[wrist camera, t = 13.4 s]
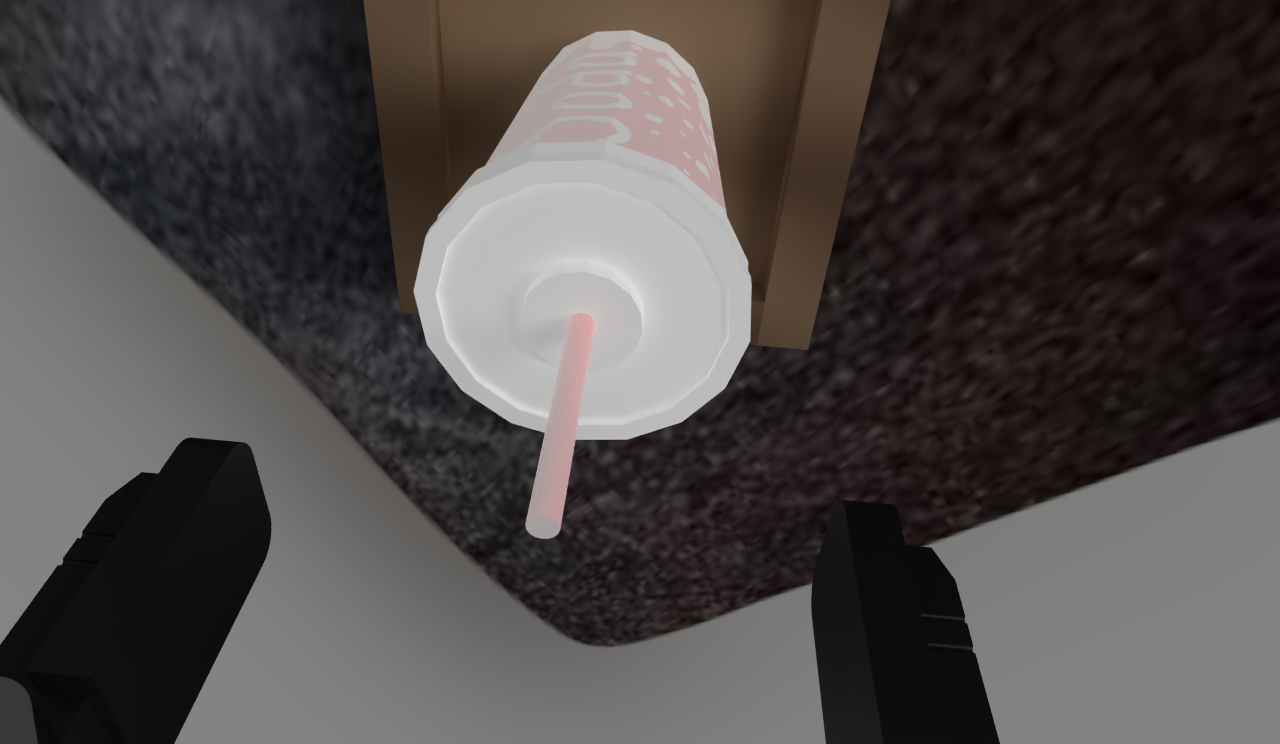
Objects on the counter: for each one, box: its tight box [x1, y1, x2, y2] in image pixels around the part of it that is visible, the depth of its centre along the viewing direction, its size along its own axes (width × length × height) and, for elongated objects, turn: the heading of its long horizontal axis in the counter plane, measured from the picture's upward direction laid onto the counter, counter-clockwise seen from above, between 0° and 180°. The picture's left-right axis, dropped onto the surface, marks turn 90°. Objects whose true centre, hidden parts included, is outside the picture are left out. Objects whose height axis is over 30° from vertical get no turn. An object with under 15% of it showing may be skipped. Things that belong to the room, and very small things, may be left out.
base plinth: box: [364, 0, 890, 350], centre depth 24 cm, size 12×12×4 cm
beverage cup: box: [414, 30, 752, 539], centre depth 18 cm, size 6×6×14 cm
